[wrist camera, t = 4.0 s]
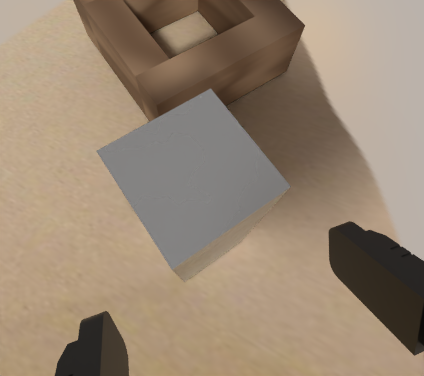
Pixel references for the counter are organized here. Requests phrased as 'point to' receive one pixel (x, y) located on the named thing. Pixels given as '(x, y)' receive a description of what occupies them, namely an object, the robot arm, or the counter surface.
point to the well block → (197, 56)
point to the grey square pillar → (194, 181)
